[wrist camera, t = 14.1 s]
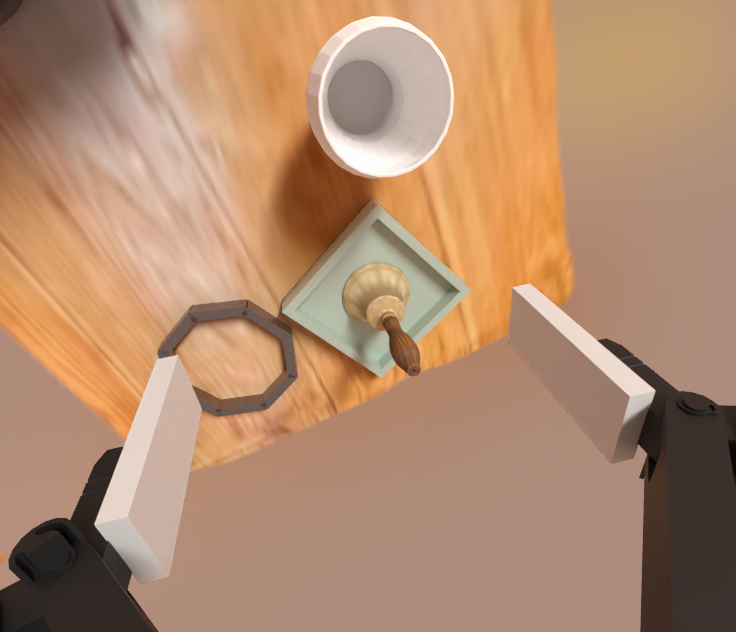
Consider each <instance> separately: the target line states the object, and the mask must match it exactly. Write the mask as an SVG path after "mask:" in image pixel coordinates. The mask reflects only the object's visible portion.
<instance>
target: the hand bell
mask: <svg viewBox="0 0 736 632" xmlns="http://www.w3.org/2000/svg"><path fill="white" fill-rule="evenodd" d="M409 294H410V288H409V283H408V280H407V278H406V276H405V274H404V273H403V272H402V271H401V270H400V269H399V268H397V267H396V266H394V265H392V264H389V263H384V262H375V263H370V264H366V265H364V266H362V267H360V268H358V269H357V270H356V271H354V272H353V273H352V274H351V275H350V277H349V278H348V280H347V281H346V283H345V285H344V288H343V294H342V297H343V304H344V307H345V309H346V311H347V312H348V314H349V315H350V316H351V317H352V318H354V319H355V320H357V321H359V322H361V323H364V324H369V325H370V326H371V327H373V328H374V329H376V330H380V331H386V332H387V334H388V336H389V349H390V352H391V355H392V357H393V360H394V361H395V363H396V364H397V365H398V366H399V367H400V368H401V369H403V370H404V371H405V372H406V373H407V374H408V375H409V376H416V375H418V374H419V373H420V371H421V368H420V354H419V350H418V347H417V345H416V344H415V342H414V341H413V339H412V338H411V337H410V336H409V335H408V334H407V333H405V332H404V331H403V330H402V329H401V326H400V323H401V321H402V320H403V317H404V314H405V306H406V304H407V302H408V299H409Z"/></svg>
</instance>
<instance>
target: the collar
mask: <svg viewBox="0 0 736 632" xmlns="http://www.w3.org/2000/svg"><path fill="white" fill-rule="evenodd" d="M241 316H245V317H246V318H248V319H250V320H251V321H253V322H254V323H256V324H258V325H259V326H261V327H262V328H264V329H266V330H267V331H269V332H270V333H272V334H274V335H275V336H277V337H278V338H280V339H282V343H283V349H284V355H285V361H286V369H285V371H284V372H283V373H282V374H281V375H280V376H279V377H278V378H277V379H276V380H275V381H274V382H273V383H272V384H271V386H270V387H269V388H268V389H267V390H266V391H265V392H264V393H263V394H260V395H253V396H245V397H238V398H231V399H224V400H220V399H218V398H216V397H214V396H212V395H210V394H208V393H206V392H204V391H203V390H201V389H199V388H197V387H195V386H193V385H192V387H193V390H194V392H195V394H196V396H197V399H198V401H199V403H200V406H201V408H202V409H203V410H205V411H207V412H209V413H211V414H213V415H215V416H217V415H218V416H225V415H232V414H239V413H246V412H253V411H259V410H266V409H268V408H269V407H270V406H271V405H272V404H273V403H274V402H275V401H276V400H277V399H278V398H279V396H280V395H281V394H282V393H283V392H284V391H285V390H286V389H287V388H288V387H289V386H290V385H291V384H292V383H293V382H294V381H295V380H296V379H297V377H298V374H297V364H296V357H295V350H294V343H293V336H292V329H291V327H290V326H288V325H287V324H285V323H283V322H282V321H280V320H279V319H277V318H276V317H274V316H273V315H271V314H270V313H268V312H266V311H265V310H263V309H262V308H260V307H259V306H257V305H256V304H254V303H253V302H251V301H250V300H248V301H247V300H238V301H228V302H219V303H210V304H201V305H192V306H191V307H190V308H189V309H188V310H187V312H186V313H185V314H184V315H183V317H182V318H181V319H180V320H179V322H178V323H177V324H176V325H175V327H174V328H173V329H172V330H171V332H170V333H169V334H168V335H167V337H166V338H165V339H164V340H163V341H162V343H161V345H160V347H159V349H158V355H159V358H160V359H161V358H166V357H171V356H176V354H175V351H174V347H175V346H176V345H177V344H178V343H179V341H180V340H181V339H182V338H183V336H184V335H185V334H186V333H187V332H188V330H189V329H190V328H191V327H192V325H193V324H194V323H195V322H197V321H206V320H214V319H223V318H232V317H241Z"/></svg>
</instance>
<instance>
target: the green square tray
mask: <svg viewBox="0 0 736 632" xmlns="http://www.w3.org/2000/svg"><path fill="white" fill-rule="evenodd" d="M375 262H384V263H389V264H392V265H394V266H396V267H397V268H399V269H400V270H401V271H402V272H403V273H404V274H405V276H406V278H407V280H408V283H409V288H410V294H409V299H408V302H407V304H406V306H405V314H404V317H403V320H402V321H401V323H400V326H401V329H402V330H403V331H404V332H405V333H407V334H408V335H409V336H410V337H411V338H412V339H413V341H414V342H415V344H417V343H418V342H419V341H420V340H421V339H422V338H423V337H424V336H425V335H426V334H427V333H428V332H429V331H430V330H431V329H432V328H433V327H434V326H435V325H437V324H438V323H439V322H440V321H441V320H442V319H443V318H444V317H445V316H446V315H447V314H448V313H449V312H450V311H451V310H452V309H453V308H454V307H455V306H456V305H457V304H458V303H459V302H460V301H461V300H462V299H463V298H464V297H465V296H466V295H467V294H468V293H469V292H470V291H471V290H470V288H469V287H468V286H467V285H466V284H465V283H464V282H463V281H462V280H461V279H460V278H459V277H458V276H457V275H456V274H455V273H454V272H453V271H451V270H450V269H449V268H448V267H447V266H446V265H445V264H444V263H443V262H442V261H441V260H439V259H438V258H437V257H436V256H435V255H434V254H433V253H432V252H431V251H430V250H429V249H427V248H426V247H425V246H424V245H423V244H422V243H421V242H420V241H419V240H418V239H417V238H415V237H414V236H413V235H412V234H411V233H410V232H409V231H408V230H407V229H406V228H404V227H403V226H402V225H401V224H400V223H399V222H398V221H397V220H396V219H395V218H394V217H392V216H391V215H390V214H389V213H388V212H387V211H386V210H385V209H384V208H383V207H382V206H380V205H379V204H378V203H377V202H376V201H375V200H374V199H373V198H371V199H370V201H369V202H368V203H367V204H366V205H365V206H364V207H363V208H362V210H361V211H360V212H359V213H358V214H357V215H356V216H355V218H354V219H353V220H352V221H351V222H350V223H349V224H348V226H347V227H346V228H345V229H344V230H343V231H342V232H341V234H340V235H339V236H338V237H337V238H336V239H335V240H334V242H333V243H332V244H331V245H330V246H329V247H328V248H327V250H326V251H325V252H324V253H323V254H322V255H321V256H320V258H319V259H318V260H317V261H316V262H315V263H314V264H313V266H312V267H311V268H310V269H309V270H308V271H307V272H306V274H305V275H304V276H303V277H302V278H301V279H300V280H299V282H298V283H297V284H296V285H295V286H294V287H293V288H292V289H291V291H290V292H289V293H288V294H287V295H286V296H285V297H284V299H283V300H282V313H284V314H285V315H287V316H288V317H290V318H291V319H293V320H294V321H296V322H298V323H299V324H301V325H302V326H304V327H305V328H307V329H308V330H310V331H311V332H313V333H314V334H316V335H317V336H319V337H320V338H322V339H323V340H325V341H326V342H328V343H329V344H331V345H332V346H334V347H335V348H337V349H338V350H340V351H341V352H343V353H344V354H346V355H347V356H349V357H350V358H352V359H353V360H355V361H356V362H358V363H359V364H361V365H362V366H364V367H366V368H367V369H369V370H370V371H372V372H373V373H375V374H376V375H378V376H379V377H381V378H382V377H383V376H384V375H385V374H386V373H387V372H388V371H389V370H390V369H391V368H392V367H393V366H394V365H395V364H396V363H395V361H394V360H393V357H392V355H391V352H390V349H389V336H388V334H387V332H386V331H380V330H376V329H374V328H373V327H371V326H370V325H369V324H364V323H361V322H359V321H357V320H355V319H354V318H352V317H351V316H350V315H349V314H348V312H347V311H346V309H345V307H344V304H343V297H342V294H343V288H344V285H345V283H346V281H347V280H348V278H349V277H350V275H351V274H352V273H353V272H354V271H356V270H357V269H358V268H360V267H362V266H364V265H366V264H370V263H375Z"/></svg>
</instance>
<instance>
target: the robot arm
mask: <svg viewBox="0 0 736 632" xmlns="http://www.w3.org/2000/svg"><path fill="white" fill-rule="evenodd" d="M22 1H23V0H0V24H1V23H3V22H4V21H6V20H7V19H8V18H9V17H11V16H12V14H13V13H14V12H15V11H16V10H17V9H18V7H19V6H20V4H21V3H22ZM508 343H509V344H510V345H511V346H512V348H513V349H514V350H515V351H516V352H517V354H518V355H519V356H520V357H521V358H522V360H523V361H524V362H525V363H526V364H527V366H528V367H529V368H530V369H531V370H532V371H533V373H535V375H536V376H537V377H538V379H539V380H540V381H541V382H542V383H543V384H544V386H545V387H546V388H547V389H548V390H549V391H550V393H551V394H552V395H553V396H554V397H555V399H556V400H557V401H558V402H559V403H560V404H561V406H562V407H563V408H564V409H565V410H566V412H567V413H568V414H569V415H570V416H571V417H572V418H573V420H574V421H575V422H576V423H577V425H578V426H579V427H580V428H581V429H582V430H583V432H584V433H585V434H586V435H587V436H588V438H589V439H590V440H591V441H592V442H593V443H594V445H595V446H596V447H597V448H598V449H599V451H600V452H601V453H602V454H603V455H604V456H605V458H606V459H607V460H608V461H609V462H610V463H611V464H613V463H617V462H620V461H624V460H628V459H632V458H634V456H635V453H636V449H637V447H638V444H639V445H640V446H641V447H642V449H644V451H645V452H646V453H647V457H646V460H645V463H644V466H643V469H642V472H641V474H640V478H641V479H644V477H645V481H644V517H643V518H644V519H643V520H644V521H643V554H642V592H641V594H642V595H641V629H640V632H736V406H720V405H717V404H716V403H715V402H713V401H712V400H710V399H708V398H707V397H705V396H703V395H699V394H696V393H692V392H684V391H681V392H679V391H678V390H676V389H675V388H674V387H673V386H671V385H670V384H669V383H668V382H666V381H665V380H664V379H663V378H662V377H660V376H659V375H658V374H657V373H655V372H654V371H653V370H652V369H650V368H649V367H648V366H646V365H644V364H643V362H641V361H640V360H639V359H638V358H637V357H634V355H633V354H632V353H630V352H629V351H628V350H627V349H626V348H624V347H623V346H622V345H619V344H617V343H615V342H613V341H610V340H608V339H602V340H598V341H597V340H596V339H594V338H593V337H592V336H591V335H590V334H589V333H587V332H586V331H585V330H584V329H583V328H581V327H580V326H579V325H578V324H577V323H576V322H575V321H573V320H572V319H571V318H570V317H569V316H567V315H566V314H565V313H564V312H563V311H562V310H560V309H559V308H558V307H557V306H556V305H555V304H553V303H552V302H551V301H550V300H549V299H548V298H546V297H545V296H544V295H543V294H542V293H541V292H539V291H538V290H537V289H536V288H535V287H534V286H532V285H531V284H526V285H521V286H516V287H512V300H511V313H510V326H509V340H508ZM201 412H202V408H201V406H200V403H199V401H198V399H197V396H196V394H195V392H194V390H193V387H192V385H191V383H190V380H189V378H188V376H187V374H186V371H185V369H184V367H183V364H182V362H181V360H180V358H179V355H176V356H171V357H166V358H161V359H157V361H156V363H155V366H154V368H153V371H152V374H151V376H150V379H149V382H148V384H147V387H146V390H145V392H144V395H143V397H142V400H141V403H140V405H139V408H138V411H137V413H136V416H135V418H134V421H133V424H132V426H131V429H130V432H129V434H128V437H127V439H126V442H125V445H124V446H123V447H119V448H114V449H110V450H107V451H106V452H105V453H104V454H103V456H102V457H101V458H100V459H99V460H98V461H97V463H96V464H95V465H94V467H93V470H92V472H91V474H90V476H89V479H88V483H86V486H85V488H84V490H83V495H82V496H81V497H80V499H79V501H78V504H77V506H76V508H75V511H74V513H73V515H72V518H71V520H68V519H67V518H55V519H52V520H49V521H46V522H44V523H42V524H40V525H39V526H37V527H35V528H33V529H32V530H31V531H30V532H29V533H27V534H26V535H25V536H24V537H23V538H21V540H20V541H19V543H18V544H17V545H16V546H15V547H14V549H13V550H12V553H11V555H10V558H9V560H8V561H9V569H10V570H11V571H12V572H13V573H14V574H15V575H16V576H17V577H18V578H20V579H21V580H19V581H17V582H16V583H14V584H12V585H10V586H8V587H6V588H4V589H2V590H0V632H158V630H157V629H156V628H155V626H154V625H153V623H152V622H151V621H150V620H149V618H148V617H147V616H146V614H145V612H144V611H143V610H142V608H141V607H140V606H139V604H138V603H137V601H136V600H135V599H134V598H133V596H132V595H131V593H130V592H129V591H128V590H127V589H128V585H129V582H130V578H131V574H133V576H134V577H135V578H136V580H137V581H138V582H139V583H140V584H144V583H148V582H152V581H156V580H160V579H163V578H167V577H169V576H170V570H171V566H172V561H173V556H174V550H175V545H176V540H177V535H178V530H179V525H180V519H181V515H182V509H183V504H184V499H185V494H186V488H187V484H188V479H189V474H190V469H191V464H192V458H193V453H194V448H195V443H196V438H197V433H198V428H199V423H200V418H201Z"/></svg>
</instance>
